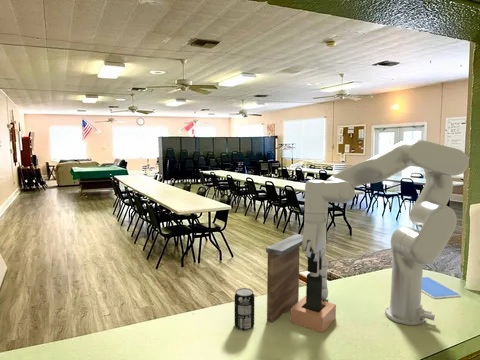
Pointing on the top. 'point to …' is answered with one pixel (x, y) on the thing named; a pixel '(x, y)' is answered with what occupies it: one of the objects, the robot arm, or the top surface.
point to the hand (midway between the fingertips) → (314, 270)
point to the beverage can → (244, 309)
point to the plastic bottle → (324, 275)
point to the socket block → (313, 315)
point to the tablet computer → (436, 289)
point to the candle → (314, 289)
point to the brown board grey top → (283, 276)
